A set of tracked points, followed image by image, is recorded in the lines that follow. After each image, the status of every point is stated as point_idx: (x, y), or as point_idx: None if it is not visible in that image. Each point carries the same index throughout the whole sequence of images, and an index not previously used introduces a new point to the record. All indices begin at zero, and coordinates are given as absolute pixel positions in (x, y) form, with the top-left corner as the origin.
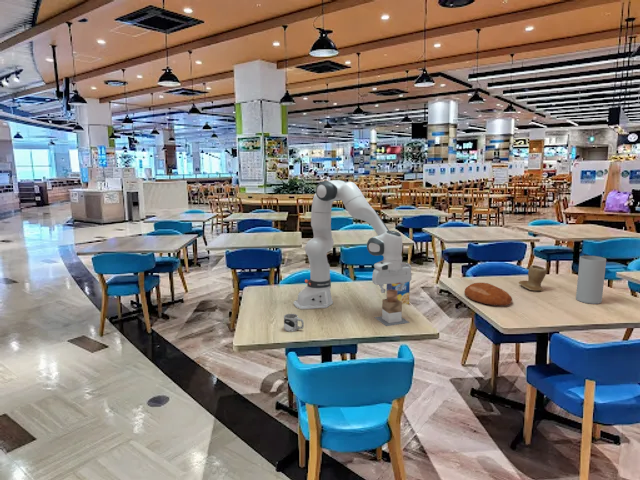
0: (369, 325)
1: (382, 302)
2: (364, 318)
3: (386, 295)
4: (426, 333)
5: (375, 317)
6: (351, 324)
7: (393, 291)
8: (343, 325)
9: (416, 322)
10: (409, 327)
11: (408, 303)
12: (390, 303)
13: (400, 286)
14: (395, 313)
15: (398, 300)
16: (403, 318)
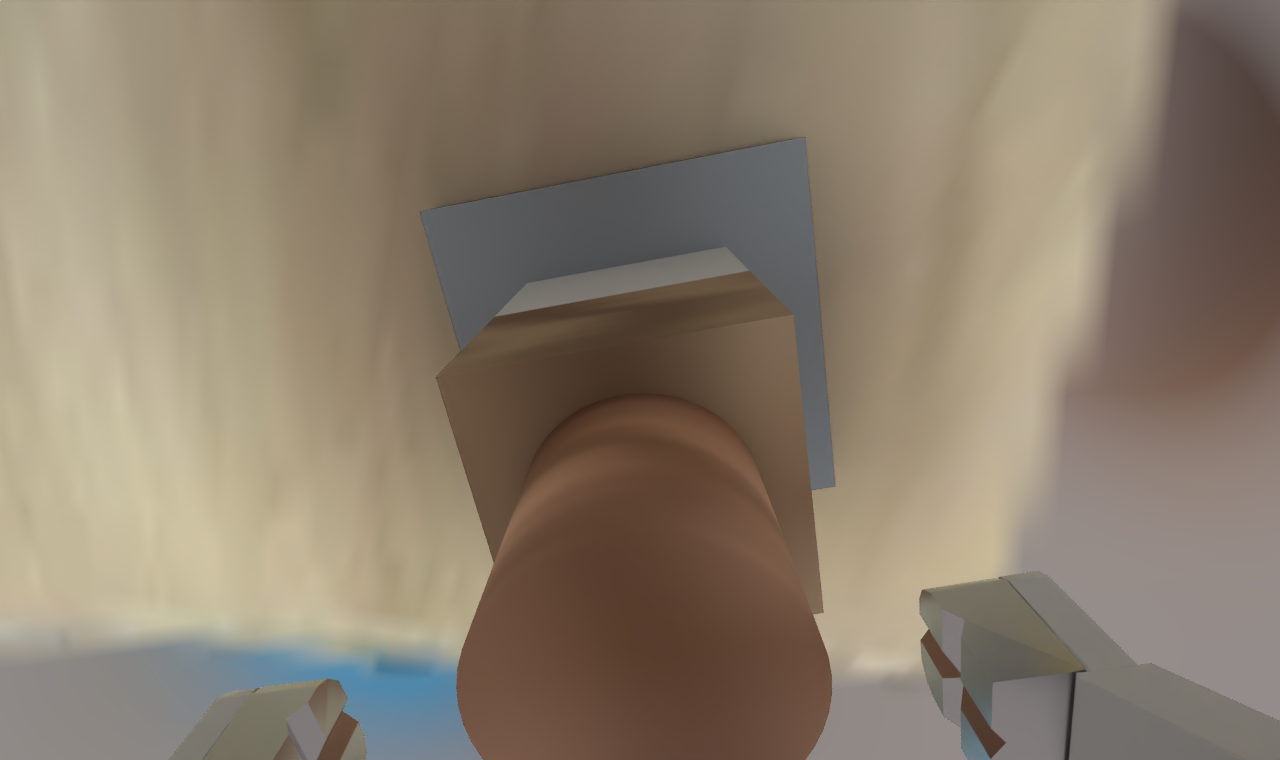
0: (346, 381)
1: (460, 356)
2: (302, 112)
3: None
4: (885, 670)
5: (438, 225)
6: (114, 308)
7: (665, 753)
8: (11, 323)
9: (951, 392)
10: None
11: None
12: None
13: (1102, 745)
14: None
15: (793, 518)
16: (821, 339)
